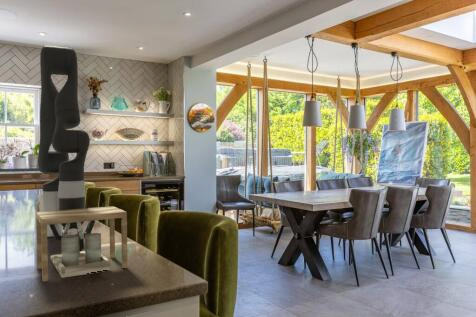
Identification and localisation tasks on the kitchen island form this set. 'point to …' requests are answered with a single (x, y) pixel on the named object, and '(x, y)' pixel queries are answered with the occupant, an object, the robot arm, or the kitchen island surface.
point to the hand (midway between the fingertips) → (72, 251)
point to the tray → (80, 256)
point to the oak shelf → (78, 216)
